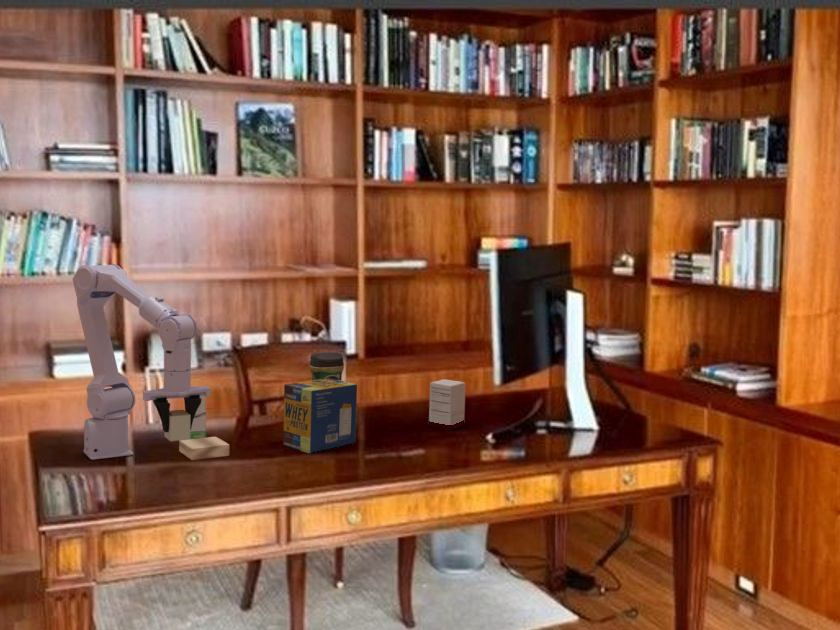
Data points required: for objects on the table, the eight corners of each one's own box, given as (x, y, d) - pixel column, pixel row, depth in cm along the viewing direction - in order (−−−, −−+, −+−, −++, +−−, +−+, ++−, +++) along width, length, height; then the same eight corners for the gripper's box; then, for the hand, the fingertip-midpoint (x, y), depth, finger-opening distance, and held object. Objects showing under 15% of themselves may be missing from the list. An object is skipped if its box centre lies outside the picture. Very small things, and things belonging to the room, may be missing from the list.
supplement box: (442, 422, 244) (444, 378, 243) (464, 426, 240) (466, 382, 239) (427, 427, 238) (429, 382, 237) (450, 431, 234) (451, 385, 233)
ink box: (206, 441, 215) (206, 395, 214) (186, 442, 214) (186, 395, 212) (204, 433, 223) (204, 388, 222) (184, 434, 222) (184, 389, 221)
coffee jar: (336, 412, 253) (337, 350, 251) (346, 418, 246) (348, 353, 244) (305, 415, 249) (306, 351, 247) (314, 420, 242) (316, 355, 240)
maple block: (191, 461, 198) (191, 449, 198) (179, 452, 206) (179, 440, 205) (229, 457, 203) (229, 444, 203) (215, 448, 211) (215, 436, 210)
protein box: (282, 445, 213) (283, 384, 212) (329, 436, 225) (330, 377, 223) (309, 454, 206) (310, 390, 205) (356, 443, 218) (358, 383, 216)
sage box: (170, 441, 189) (170, 414, 188) (164, 436, 193) (164, 410, 192) (190, 439, 191) (190, 413, 191) (183, 434, 195) (183, 409, 194)
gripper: (149, 374, 183) (149, 437, 185) (215, 370, 191) (214, 430, 193) (140, 369, 189) (140, 430, 191) (204, 365, 197) (204, 424, 198)
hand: (177, 430), depth 192 cm, fingers closed on sage box, 4 cm apart
